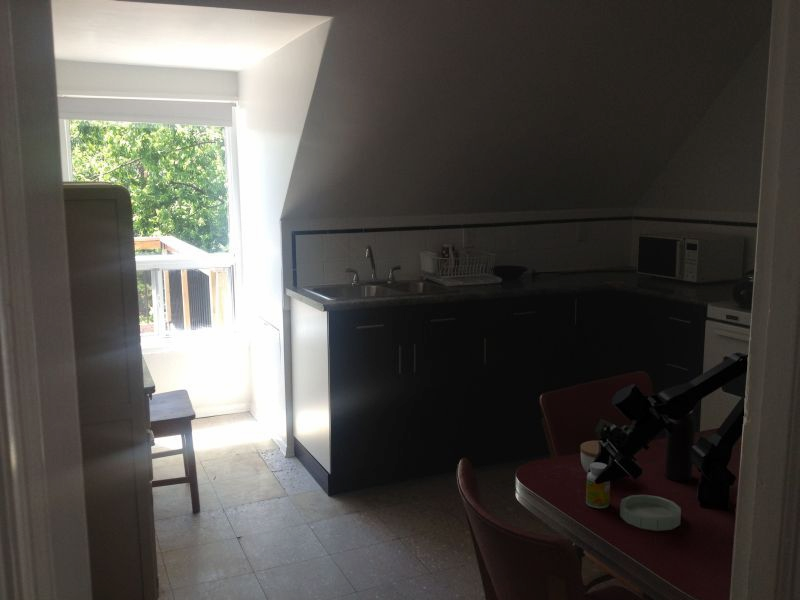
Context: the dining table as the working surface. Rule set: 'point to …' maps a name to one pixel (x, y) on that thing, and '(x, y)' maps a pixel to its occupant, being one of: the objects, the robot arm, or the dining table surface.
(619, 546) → the dining table surface
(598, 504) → the supplement bottle
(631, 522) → the bowl
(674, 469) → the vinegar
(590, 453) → the lidded jar
